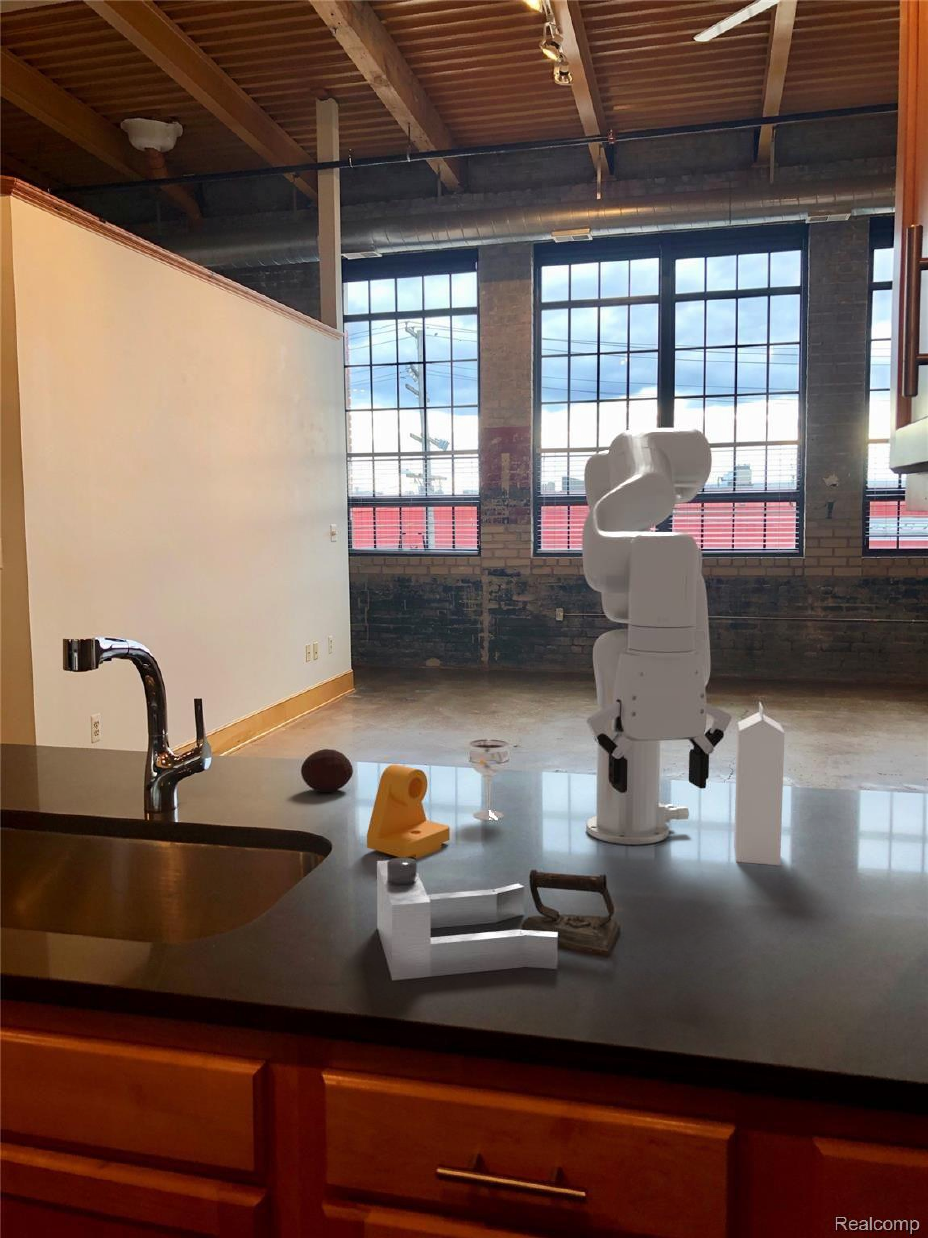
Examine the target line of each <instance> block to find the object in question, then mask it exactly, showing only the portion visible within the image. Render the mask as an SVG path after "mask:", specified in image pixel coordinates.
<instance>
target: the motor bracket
mask: <svg viewBox="0 0 928 1238" xmlns="http://www.w3.org/2000/svg"><path fill="white" fill-rule="evenodd" d="M417 865H418V862H417V861H416V859H415V858H412V857H396V858H395V857H394V858H391V859H389V860H377V861H376V893H377V894H376V903H377V904H376V906H377V909H376V913H377V914H376V915H377V916H376V917H377V923H376V924H377V930H378V931H377V933H378V934H379V939H380V943H381V945H382V949H383V952H384V955H385V959H386V963H387V967H388V970H389V973H390V977H391V981H400V980H409V979H419V978H421V979H422V978H429V977H438V976H449V975H459V974H460V975H461V974H468V973H478V972H489V971H498V970H508V969H509V970H510V969H518V968H534V969H535V968H536V969H538V968H539V969H551V970H552V969H553V970H557V969H558V956H559V955H558V950H559V949H558V948H559V947H558V932H546V931H529V930H522V929H507V930H500V931H488V932H487V931H486V932H478V933H477V932H476V933H466V934H455V935H445V936H443V935H442V936H434V937H431V932H432V931H431V929H438V928H439V929H440V928H451V927H452V928H453V927H462V926H463V927H464V926H473V925H474V926H475V925H484V924H486V925H487V924H495V923H497V922H501V921H502V922H503V921H505V920H509V919H513V918H517V917H520V916H523V915H525V886H524V885H522V884H520V883H514V884H510V885H506V886H501V887H498V888H491V889H478V890H468V891H456V892H454V891H453V892H444V893H431V894H429V893H428V894H427V891H426V889H425V887H424V884H423V882H422V879H421V878H420V875H419V873H418V870H417V869H418V867H417Z"/></svg>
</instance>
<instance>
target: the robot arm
mask: <svg viewBox="0 0 928 1238" xmlns="http://www.w3.org/2000/svg"><path fill="white" fill-rule="evenodd" d="M610 443H611V444H610V445H609V448H608V449H607V450H603V451H599V452H596V453H594V454H593V455H591V456H590V457H589V458H588V459H587V462H586V463H585V467H584V474H583V476H584V479H583V480H584V490H585V496H586V502H587V506H588V510H589V511H588V513H587V516H586V517H585V519H584V524H583V527H582V533H581V546H582V547H581V548H582V550H581V551H582V565H583V568H582V569H583V573H584V578H585V580H586V582H587V584H588V586H589V587H591V589H593V590H594V591H596V592H599V593H601V603H602V610H603V612H604V615H605V616H606V618H607V619H608V620H610V621H612V622H616V623H622V624H628V626H627V627H628V628H624V629H623V628H621V629H614V630H610V631H606V632H604V633H602V634H601V635H600V636H599V637H598V638H597V639H596V640H595V642H594V645H593V648H592V662H593V665H592V666H593V672H594V679H595V680H594V681H595V687H596V698H597V700H596V702H597V712H596V713H595V714H593V715H591V716H589V717H588V718H587V719H586V724H587V726H588V728H589V730H590V732H591V734H592V735H593V739H594V741H595V742H596V743H597V753H596V755H597V757H596V758H597V759H596V760H597V763H596V815H595V816H593V817H590V818H588V820H587V821H586V823H585V825H586V827H585V830H586V832H587V833H588V834H589V835H590V836H592V837H593V838H595V839H598V840H600V841H604V842H607V843H611V844H612V843H614V844H619V845H620V844H621V845H633V846H634V845H635V846H637V845H638V846H639V845H647V844H654V843H658V842H662V841H663V840H665V839H667V838H668V836H669V834H670V833H669V831H670V830H669V828H670V827H669V825H668V824H667V823H669V822H670V821H671V820H676V821H678V820H681V821H682V820H688V819H689V817H690V812H689V808H688V807H687V806H675V807H674V805H673V804H662V803H661V802H660V782H661V781H660V780H661V779H660V778H661V774H660V773H661V767H660V766H661V742H662V741H663V742H664V741H680V740H681V741H682V740H685V741H686V740H688V741H689V742H690V743H691V744H692V746H693V748H690V751H689V752H688V753H689V755H688V782H689V783H690V784H692V785H694V786H695V787H697V788H699V789H701V790H703V789H706V787H707V780H708V779H709V774H710V771H709V770H710V755H712V754H713V753H714V750H715V747H716V746H717V745H718V744H719V743H720V742H721V741H722V740H723V738H724V736H725V732H726V731H727V729H728V726H729V724H730V722H731V721H732V715H731V714H730V713H728V712H727V711H724V710H722V709H721V708H718V707H716V706H714V705H712V704H711V703H709V702H707V694H706V691H707V690H706V686H707V685H708V683H709V680H710V677H711V676H710V675H711V674H710V673H711V647H710V646H711V645H710V627H709V611H708V596H707V589H706V587H707V586H706V582H705V579H704V576H703V574H702V568H703V553H702V549H701V546H699V545H698V543H697V542H696V539H695V538H694V537H693V536H692V535H690V534H688V533H685V532H678V531H676V532H675V531H653V530H652V529H651V528H654V527H655V526H658V525H659V524H661V523H663V522H664V521H665V520H667V518H669V516H670V515H671V514H672V513H673V510H674V509H675V506H676V504H684V503H688V502H691V501H692V500H693V499H694V498H695V497H696V496H697V495H698V493H699V492H700V491H701V490H702V489H703V488H704V487H705V485H706V484H707V482H708V480H709V477H710V475H711V471H712V465H713V463H712V462H713V458H712V448H711V447H710V442H709V440H708V439H707V437H706V436H705V435H704V433H703V432H702V431H700V430H698V429H697V428H691V427H690V428H689V427H660V428H659V427H654V428H653V427H650V428H648V427H642V428H641V427H640V428H632V429H629V430H628V429H627V430H625V431H623V432H622V433H620V434H618V435H617V436H616V437H614V439H613V440H612V441H611V442H610ZM707 716H708V717H711V718H712V719H713V723H712V725H711V727H710V728H709V729H708V730H707V731H706V729H707V728H706V726H707Z"/></svg>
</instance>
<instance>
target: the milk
mask: <svg viewBox="0 0 928 1238" xmlns="http://www.w3.org/2000/svg"><path fill="white" fill-rule="evenodd" d="M736 733H737V734H736V763H735V764H736V765H735V766H736V767H735V771H736V772H735V798H734V799H735V802H734V804H735V806H734V834H733V835H734V840H733V841H734V843H733V844H734V845H733V849H734V855H735V856H734V857H735V861H736V863H745V864H755V865H756V864H757V865H758V864H759V865H770V866H781V851H782V850H781V849H782V825H783V824H782V822H783V821H782V820H783V819H782V818H783V790H784V789H783V788H784V761H785V760H784V758H785V731H784V729H783V727H782V725H781V724H780V723H778V722H777V721H775V720H773V719H772V718H770V717H769V716H767V715H766V714H764V707H763V705H762V703H761V701H759V703H758V712H756V713H754V714H752V715H750V716H748V717H746V718H744V719H742V720H740V721H738V722H737V732H736Z"/></svg>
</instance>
